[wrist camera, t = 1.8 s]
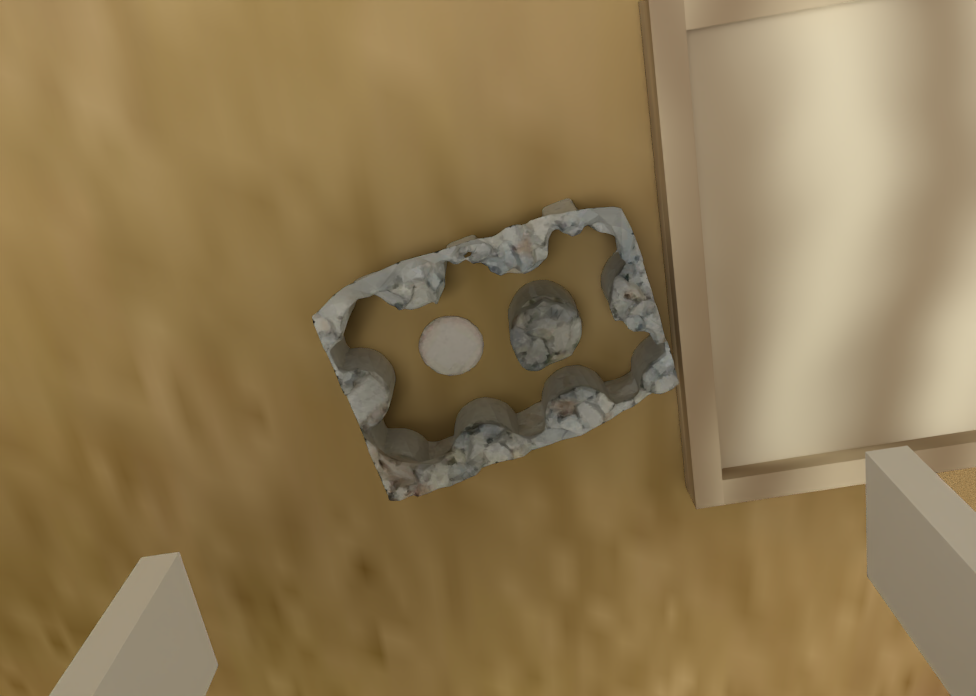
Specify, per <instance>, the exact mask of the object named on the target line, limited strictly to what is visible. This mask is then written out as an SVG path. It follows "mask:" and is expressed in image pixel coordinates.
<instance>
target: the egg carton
mask: <svg viewBox="0 0 976 696" xmlns="http://www.w3.org/2000/svg"><path fill="white" fill-rule="evenodd" d="M587 225H588V226H590V227H592V228H593V229H595V230H596V231H599V232H602V233H608V234H611V235H613V236H615V239H616V245H617V250H616V252H615V253H613V255H612V256H611V257H610V258H609V259H608V261H607V262H606V264H605V266H604V269H603V271H602V274H601V287H602V290H603V293H604V295H605V297H606V299H607V301H608V303H609V307H610V310H611V312H612V315H613V317H614V319H615V321H617V320H621V321H623V322H624V323H625V324H626V325H627V326H628V329H630V330H632V331H645V332H648V333H650V336H648V337H647V338H646V339H645V340H643V341H642V342H641V343H640V344H639V345H638V346H637V348H636V349H635V350H634V352H633V355H632V358H631V371H630V372H629V373H628V374H626V375H624V376H622V377H620V378H617V379H615V380H610V381H606V382H604V381H603V380H602V379H601V378H600V376H599V375H598V374H597V373H596V372H594V371H593V370H591V369H589V368H587V367H584V366H581V365H573V366H565V367H563V368H561V369H559V370H557V371H556V372H554V373H553V374H552V375H550V377H549V378H548V379H547V380H546V382H545V384H544V388H543V391H542V401H540V402H538V403H535V404H534V405H532V406H530V407H529V408H527V409H525V410H524V411H522V412H519V413H515V412H514V410H513V409H512V408H511V407H510V406H509V405H508V404H507V403H505V402H503V401H501V400H498V399H494V398H488V397H483V398H478V399H475V400H473V401H471V402H469V403H468V404H467V405H465V406H464V407H463V408H462V409H461V410H460V412H459V413H458V415H457V418H456V422H455V428H454V435H453V436H450V437H448V438H446V439H443V440H440V441H435V442H429V441H427V440H426V439H425V438H424V437H423V436H422V435H421V434H419V433H417V432H415V431H413V430H410V429H406V428H391V429H390V428H387V427H386V425H385V423H384V420H383V417H384V416H385V414H386V413H387V411H388V409H389V406H390V402H391V399H392V395H393V391H394V386H395V382H396V377H395V372H394V369H393V367H392V365H391V364H390V362H389V361H388V360H387V359H386V358H385V357H384V356H383V355H382V354H381V353H379V352H377V351H376V350H373V349H369V348H352V349H350V348H349V347H348V345H347V344H346V341H345V337H344V335H343V334H344V331H345V328H346V325H347V322H348V319H349V317H350V315H351V312H352V310H353V309H354V307H355V304H356V301H357V300H358V299H361V298H365V297H370V296H372V295H377V296H379V297H380V298H382V299H383V300H385V301H386V302H387V303H388V304H390V305H392V306H395V307H396V308H397V309H398V310H402V309H411V310H412V309H417V308H420V307H422V306H424V305H426V304H429V303H431V302H434V303H435V304H437V303H438V301H439V298H440V296H441V294H442V292H443V289H444V287H445V273H446V267H447V261H450V262H451V263H453V264H459V263H461V262H462V261H464V260H468V261H470V262H471V263H473V264H474V263H479V262H481V263H483V264H484V265H486V266H488V267H489V269H490V271H491V272H494V273H496V274H498V275H503V274H505V273H524V274H525V273H527V272H530V271H532V270H533V269H535V268H536V267H538V266H539V265H540V264H541V263H542V261H544V260H545V259H546V258H547V254H548V239H549V237H550V235H551V232H552V231H553V230H555V229H559V230H560V231H561V232H563V233H566V234H569V235H571V236H575V235H578V234H580V233H581V231H582V229H583V227H585V226H587ZM467 252H472V254H471V256H469V257H466V258H465V257H464V255H465V254H466V253H467ZM577 311H578V309H577V307H576V304H575V302H574V300H573V298H572V296H571V295H570V294H569V292H568V291H567V290H566V289H565V288H564V287H562V286H561V285H559V284H557V283H555V282H552V281H549V280H536V281H532V282H529V283H527V284H525V285H524V286H523V287H521V288H520V289H519V290H518V291H517V293H516V294H515V296H514V297H513V300H512V302H511V303H510V306H509V309H508V319H509V330H510V341H511V345H512V347H513V350H514V352H515V354H516V357H517V359H518V361H519V362H520V364H521V365H522V367H523V368H525V369H526V370H529V371H538V370H541V369H543V368H544V367H546V366H547V365H549V364H551V363H554V362H557V361H560V360H563V359H565V358H567V357H568V356H570V355H572V353H573V352H574V350H575V348H576V346H577V345H578V343H579V341H580V338H581V334H582V325H581V320H582V319H581V320H580V318H581V317H579V316H580V314H578V313H579V312H577ZM312 319H313V323H314V326H315V328H316V330H317V333H318V335H319V338H320V340H321V343H322V345H323V348H324V350H325V351H326V353H327V355H328V357H329V359H330V362H331V364H332V366H333V368H334V371H335V373H336V376H337V378H338V381H339V383H340V386H341V388H342V390H343V393H344V394H345V395H347V398H348V400H349V403H350V405H351V408H352V410H353V412H354V414H355V416H356V418H357V421H358V423H359V425H360V429H361V431H362V433H363V436H364V439H365V441H366V444H367V447H368V450H369V453H370V456H371V458H372V460H373V462H374V464H375V467H376V469H377V471H378V473H379V475H380V478H381V480H382V483H383V485H384V487H385V490H386V492H387V494H388V498H389V500H391V501H400V500H403V499H405V498H407V497H409V496H412V495H415V496H421V495H424V494H427V493H430V492H432V491H434V490H436V489H438V488H443V487H449V486H452V485H454V484H456V483H458V482H461V481H463V480H465V479H467V478H470V477H472V476H475V475H476V474H477V473H478V472H479V471H480V470H481V468H482V467H485V466H488V465H490V464H494V463H498V462H502V461H506V460H512V459H516V458H520V457H523V456H525V455H526V454H527V453H529V452H530V451H531V450H534V449H537V448H540V447H543V446H547V445H550V444H552V443H555V442H557V441H560V440H563V439H568V438H572V437H576V436H581V435H583V434H584V433H586V432H588V431H590V430H591V429H593V428H595V427H597V426H599V425H601V424H603V423H605V422H606V421H608V420H610V419H612V418H613V417H615V416H616V415H618V414H619V413H620V412H622V411H624V410H626V409H628V408H631V407H633V406H634V405H636V404H637V403H639V402H640V401H641V400H642V399H644V398H645V397H646V396H647V395H649V394H651V393H655V394H662V393H665V392H667V391H669V390H671V389H673V388H674V387H675V386H676V385H678V384H679V381H678V378H677V374H676V370H675V367H674V362H673V358H672V355H671V351H670V348H669V345H668V342H667V341H666V339H665V336H664V332H663V328H662V324H661V319H660V316H659V312H658V309H657V306H656V304H655V302H654V298H653V293H652V290H651V287H650V284H649V281H648V277H647V274H646V271H645V268H644V265H643V258H642V255H641V252H640V250H639V247H638V244H637V241H636V239H635V236H634V234H633V231H632V228H631V226H630V224H629V222H628V221H627V219H626V217H625V215H624V213H623V211H622V209H621V208H617V207H603V208H588V209H582V210H578V209H577V208H576V207H575V205H574V204H573V202H572V200H571V199H564V200H561V201H558V202H556V203H553V204H551V205H548V206H546V207H544V208H543V209H542V217H540V218H537V219H534V220H531V221H529V222H528V223H526V224H524V225H513V226H510V227H507V228H505V229H504V230H502V231H501V232H500V233H498V234H497V235H495V236H493V237H488V238H481V239H477V237H476V236H475V235H470V236H467V237H464V238H462V239H459V240H457V241H454V242H451V243H450V244H448V245H447V248H446V249H443V250H440V251H437V252H434V253H430V254H426V255H422V256H419V257H415V258H411V259H408V260H404V261H401V262H398V263H396V264H394V265H392V266H389V267H387V268H385V269H383V270H380V271H377V272H373V273H370V274H368V275H365V276H363V277H360V278H358V279H356V280H355V281H354V283H352V284H350V285H348V286H346V287H344V288H343V289H341V290H340V291H339V292H337V293H336V294H335V295H334V296H333V297H332V298H331V299H330V300H329V301H328V302H327V303H326V304H325V305H324V306H323V307H322V308H321V309H320V310H319V311H318V312H317V313H316V314H314V315H313V316H312ZM583 325H584V324H583ZM483 347H484V342H483V337H482V334H481V333H480V331H479V330H478V328H477V327H476V326H475V325H474V324H473V323H471V322H470V321H469V320H467V319H465V318H461V317H458V316H443V317H439V318H437V319H435V320H433V321H432V322H431V323H429V324H428V325H427V326H426V327H425V329H424V331H423V333H422V335H421V338H420V340H419V351H420V354H421V357H422V359H423V360H424V362H425V364H426V365H428V366H430V368H431V369H433V370H434V371H436V372H437V373H440V374H444V375H448V376H451V375H459V374H463V373H465V372H466V371H470V369H471V368H473V367H475V365H476V364H477V363H478V361H479V360H480V358H481V355H482V353H483Z"/></svg>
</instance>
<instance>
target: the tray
mask: <svg viewBox="0 0 976 696" xmlns="http://www.w3.org/2000/svg"><path fill="white" fill-rule="evenodd" d="M639 12H640V22H641V32H642V43H643V53H644V63H645V73H646V84H647V94H648V104H649V114H650V125H651V135H652V145H653V155H654V165H655V176H656V186H657V196H658V206H659V217H660V227H661V237H662V247H663V258H664V268H665V278H666V288H667V298H668V309H669V319H670V329H671V339H672V350H673V360H674V367H675V370H676V374H677V378H678V381H679V384H678V385H676V391H677V401H678V411H679V421H680V431H681V442H682V452H683V462H684V472H685V483H686V488H687V490H688V492H689V494H690V497H691V499H692V501H693V503H694V505H695V507H696V509H700V508H707V507H713V506H720V505H727V504H733V503H740V502H747V501H753V500H760V499H767V498H773V497H780V496H787V495H793V494H800V493H807V492H813V491H820V490H826V489H833V488H840V487H846V486H853V485H860V484H866V467H865V452H866V451H873V450H880V449H887V448H894V447H901V446H908V447H909V448H910V449H911V450H912V451H913V452H915V453H916V454H917V455H918V456H919V457H920V458H921V459H922V460H923V461H924V462H925V463H926V464H927V465H928V466H929V467H930V468H931V469H932V470H933V471H934V472H935V473H939V472H946V471H953V470H959V469H966V468H973V467H976V0H645V1H640V2H639Z"/></svg>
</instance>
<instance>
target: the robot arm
mask: <svg viewBox="0 0 976 696" xmlns="http://www.w3.org/2000/svg"><path fill="white" fill-rule="evenodd" d="M865 467H866V533H867V577H868V578H869V579H870V581H871V582H872V584H873V585H874V587H875V588H876V589H877V591H878V592H879V594H880V595H881V597H882V598H883V599H884V601H885V602H886V604H887V605H888V607H889V608H890V609H891V611H892V612H893V614H894V615H895V617H896V618H897V619H898V621H899V622H900V624H901V625H902V627H903V628H904V629H905V631H906V632H907V634H908V635H909V637H910V638H911V639H912V641H913V642H914V644H915V645H916V647H917V648H918V649H919V651H920V652H921V654H922V655H923V657H924V658H925V659H926V661H927V662H928V664H929V665H930V666H931V668H932V669H933V671H934V672H935V674H936V675H937V676H938V678H939V679H940V681H941V682H942V684H943V685H944V686H945V688H946V689H947V691H948V692H949V694H950V695H951V696H976V512H975V511H974V510H973V509H972V508H971V507H970V506H969V505H968V504H967V503H966V502H965V501H964V500H963V499H962V498H961V497H960V496H959V495H958V494H956V493H955V492H954V491H953V490H952V489H951V488H950V487H949V486H948V485H947V484H946V483H945V482H944V481H943V480H942V479H941V478H940V477H939V476H938V475H937V474H936V473H935V472H934V471H933V470H932V469H931V468H930V467H929V466H928V465H927V464H926V463H925V462H924V461H923V460H922V459H921V458H920V457H919V456H918V455H917V454H916V453H915V452H913V451H912V450H911V449H910V448H909V447H908V446H901V447H894V448H887V449H880V450H873V451H866V452H865ZM217 667H218V663H217V660H216V657H215V654H214V651H213V648H212V646H211V643H210V640H209V637H208V634H207V631H206V628H205V625H204V622H203V619H202V616H201V614H200V611H199V608H198V605H197V602H196V599H195V596H194V593H193V590H192V587H191V584H190V582H189V579H188V576H187V573H186V570H185V567H184V564H183V561H182V558H181V555H180V552H175V553H168V554H161V555H154V556H147V557H141V558H140V560H139V561H138V563H137V564H136V566H135V567H134V569H133V570H132V572H131V573H130V575H129V576H128V578H127V579H126V581H125V582H124V584H123V585H122V587H121V588H120V590H119V591H118V593H117V594H116V596H115V597H114V599H113V600H112V602H111V603H110V605H109V606H108V608H107V609H106V611H105V612H104V614H103V615H102V617H101V618H100V620H99V621H98V623H97V624H96V626H95V627H94V629H93V630H92V632H91V633H90V635H89V636H88V638H87V639H86V641H85V642H84V644H83V645H82V647H81V648H80V650H79V651H78V653H77V654H76V656H75V657H74V659H73V660H72V662H71V663H70V665H69V666H68V668H67V669H66V671H65V672H64V674H63V675H62V677H61V678H60V680H59V681H58V683H57V684H56V686H55V687H54V689H53V690H52V692H51V693H50V695H49V696H205V695H206V693H207V691H208V688H209V686H210V684H211V681H212V679H213V677H214V674H215V672H216V670H217Z"/></svg>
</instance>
